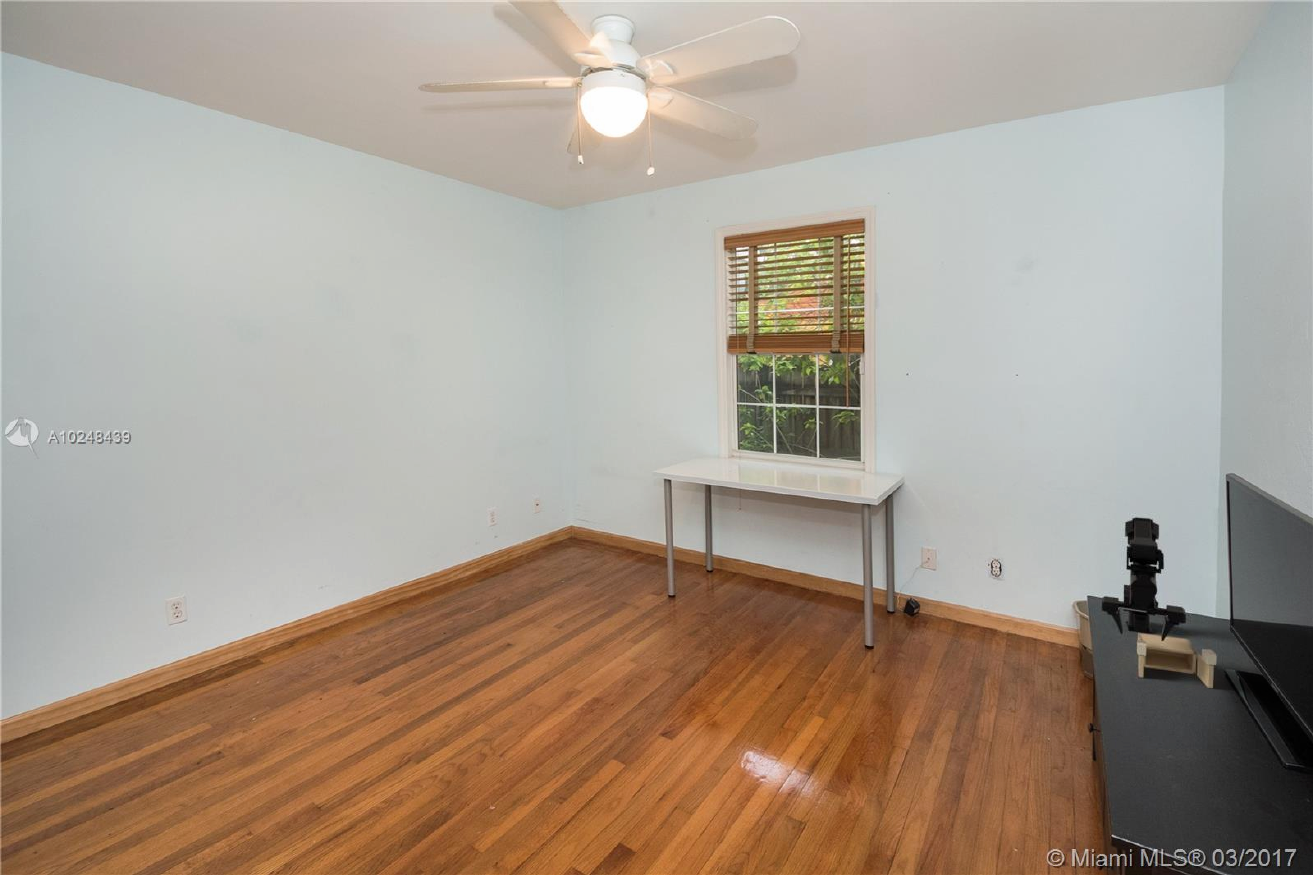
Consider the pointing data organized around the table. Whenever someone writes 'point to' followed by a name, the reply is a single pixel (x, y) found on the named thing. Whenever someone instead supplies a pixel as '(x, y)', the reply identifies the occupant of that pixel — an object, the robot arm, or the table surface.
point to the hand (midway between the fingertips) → (1141, 637)
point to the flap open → (1206, 666)
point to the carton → (1169, 653)
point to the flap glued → (1141, 655)
